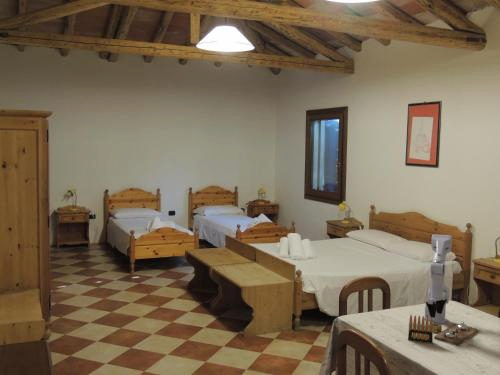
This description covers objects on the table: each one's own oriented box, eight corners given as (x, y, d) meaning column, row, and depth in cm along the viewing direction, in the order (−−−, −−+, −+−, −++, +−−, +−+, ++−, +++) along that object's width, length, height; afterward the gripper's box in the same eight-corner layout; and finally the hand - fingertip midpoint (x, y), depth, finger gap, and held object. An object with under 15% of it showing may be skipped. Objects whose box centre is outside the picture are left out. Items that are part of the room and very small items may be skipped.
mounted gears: (442, 336, 234) (442, 329, 234) (459, 325, 249) (459, 319, 248) (453, 340, 231) (454, 333, 230) (470, 328, 245) (470, 322, 244)
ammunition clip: (432, 341, 231) (433, 316, 230) (432, 343, 230) (433, 317, 229) (408, 338, 235) (409, 313, 234) (407, 340, 233) (408, 315, 232)
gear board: (434, 338, 235) (434, 336, 235) (455, 325, 252) (455, 323, 252) (457, 345, 227) (458, 342, 227) (477, 331, 244) (478, 328, 244)
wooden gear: (426, 330, 245) (427, 324, 245) (431, 327, 249) (432, 321, 249) (438, 334, 241) (439, 327, 241) (443, 330, 245) (443, 324, 244)
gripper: (438, 292, 235) (437, 321, 236) (451, 286, 245) (450, 313, 246) (424, 289, 240) (423, 317, 241) (437, 283, 250) (436, 310, 251)
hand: (435, 315), depth 244 cm, fingers open, 7 cm apart
